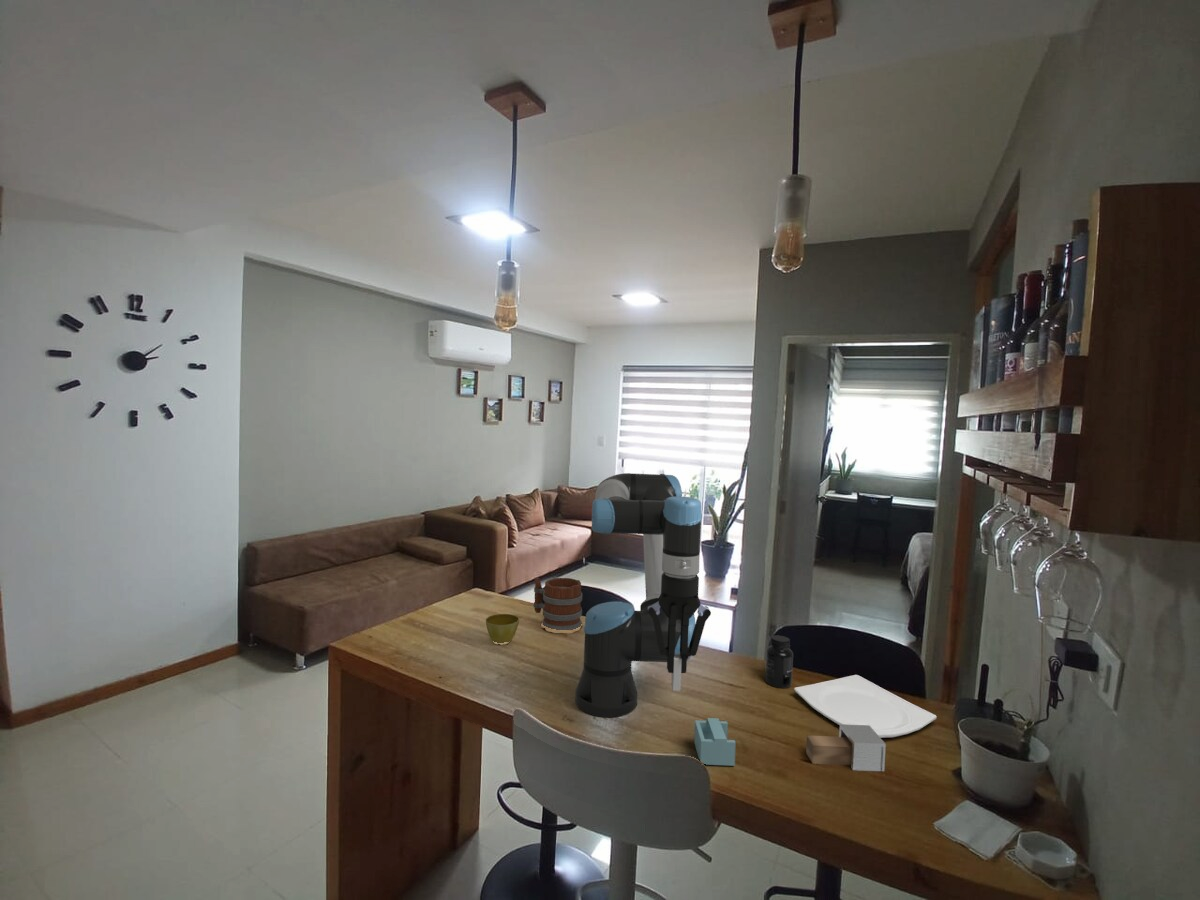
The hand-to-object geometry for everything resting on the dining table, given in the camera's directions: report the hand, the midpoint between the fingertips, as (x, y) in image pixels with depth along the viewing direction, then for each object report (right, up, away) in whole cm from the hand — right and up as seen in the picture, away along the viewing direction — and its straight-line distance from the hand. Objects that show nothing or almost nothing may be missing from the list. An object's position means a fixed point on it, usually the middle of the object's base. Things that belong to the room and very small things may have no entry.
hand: (675, 687), depth 109 cm
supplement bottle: (+32, -14, +33) cm, 48 cm away
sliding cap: (+8, -14, 0) cm, 16 cm away
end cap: (+38, -15, 0) cm, 41 cm away
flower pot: (-46, -10, +54) cm, 71 cm away
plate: (+48, -15, +20) cm, 54 cm away
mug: (-30, -10, +70) cm, 77 cm away
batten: (+33, -15, 0) cm, 37 cm away
